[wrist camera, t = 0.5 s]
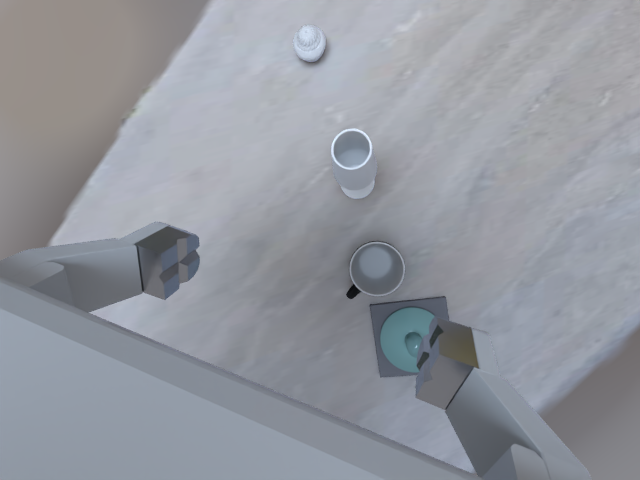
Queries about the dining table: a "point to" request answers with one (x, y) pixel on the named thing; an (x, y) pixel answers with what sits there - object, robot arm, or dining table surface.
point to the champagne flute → (354, 163)
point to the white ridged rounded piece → (309, 43)
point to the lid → (405, 336)
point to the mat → (385, 309)
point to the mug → (376, 269)
